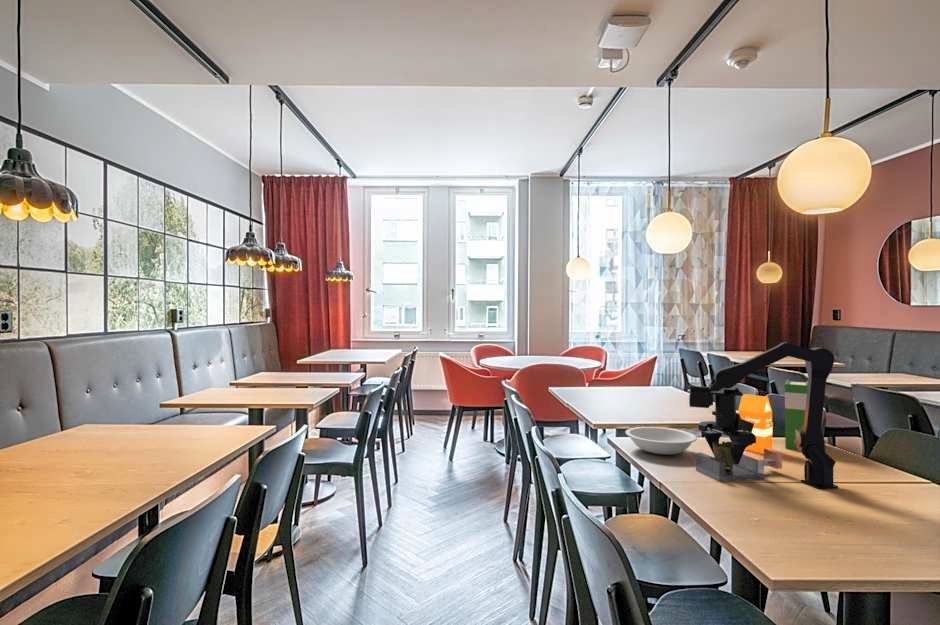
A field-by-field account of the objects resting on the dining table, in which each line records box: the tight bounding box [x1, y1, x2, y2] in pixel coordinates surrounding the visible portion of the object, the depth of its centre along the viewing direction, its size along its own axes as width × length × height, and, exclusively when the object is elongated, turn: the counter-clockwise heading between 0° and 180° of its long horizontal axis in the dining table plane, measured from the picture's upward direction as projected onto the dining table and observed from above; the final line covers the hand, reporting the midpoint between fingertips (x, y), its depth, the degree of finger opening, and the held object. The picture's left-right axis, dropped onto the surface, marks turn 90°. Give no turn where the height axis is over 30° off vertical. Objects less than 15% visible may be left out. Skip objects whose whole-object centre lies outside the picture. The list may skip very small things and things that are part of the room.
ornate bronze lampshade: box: [713, 440, 735, 471], centre depth 148 cm, size 8×7×8 cm
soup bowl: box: [624, 426, 698, 455], centre depth 173 cm, size 24×24×7 cm
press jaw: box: [736, 448, 783, 474], centre depth 150 cm, size 11×11×5 cm
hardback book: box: [784, 379, 808, 451], centre depth 183 cm, size 18×7×24 cm, turn 145°
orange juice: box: [738, 393, 773, 454], centre depth 177 cm, size 8×9×20 cm
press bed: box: [695, 452, 765, 482], centre depth 148 cm, size 11×15×6 cm
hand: (726, 459), depth 148 cm, fingers open, 9 cm apart
